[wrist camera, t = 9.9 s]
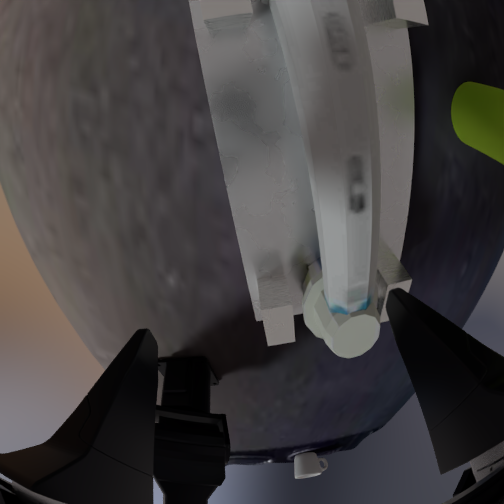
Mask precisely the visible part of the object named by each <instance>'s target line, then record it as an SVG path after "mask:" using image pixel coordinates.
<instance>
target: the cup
mask: <svg viewBox="0 0 504 504" xmlns="http://www.w3.org/2000/svg"><path fill="white" fill-rule="evenodd" d="M320 460H322V461H323V462H324V465H325V466H324V468H321V466H320V464H319V461H320ZM294 463H295V478H297V479H299V478H307V477H312V476H316V475H319V474H321V473H322V472H321V471H324V470H325V469H327V467H328V463H327V461H326V459H324V458H317V455H316V454H315V453H314V452H306V453H301V454H298V455H296V456H295V459H294Z"/></svg>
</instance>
